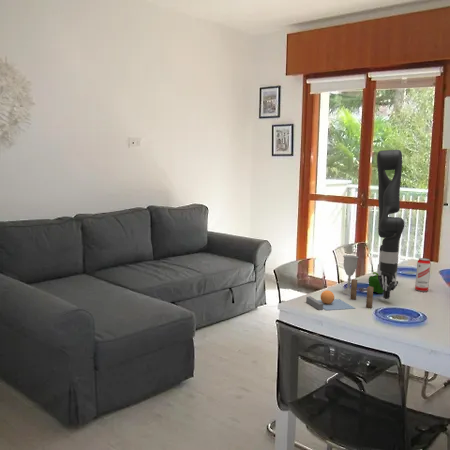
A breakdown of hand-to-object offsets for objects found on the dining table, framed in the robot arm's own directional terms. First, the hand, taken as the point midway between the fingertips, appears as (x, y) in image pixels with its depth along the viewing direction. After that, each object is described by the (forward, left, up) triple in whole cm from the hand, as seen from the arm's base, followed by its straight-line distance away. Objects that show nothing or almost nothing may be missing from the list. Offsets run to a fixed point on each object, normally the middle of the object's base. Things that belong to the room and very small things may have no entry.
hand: (386, 298), depth 227 cm
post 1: (-6, -13, -2) cm, 15 cm away
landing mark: (0, -27, -2) cm, 27 cm away
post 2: (+6, -13, -2) cm, 15 cm away
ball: (-2, -29, +2) cm, 29 cm away
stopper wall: (0, -36, -2) cm, 36 cm away
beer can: (-14, +30, -2) cm, 33 cm away
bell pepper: (-15, +5, -2) cm, 16 cm away
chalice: (-16, -10, -2) cm, 19 cm away
